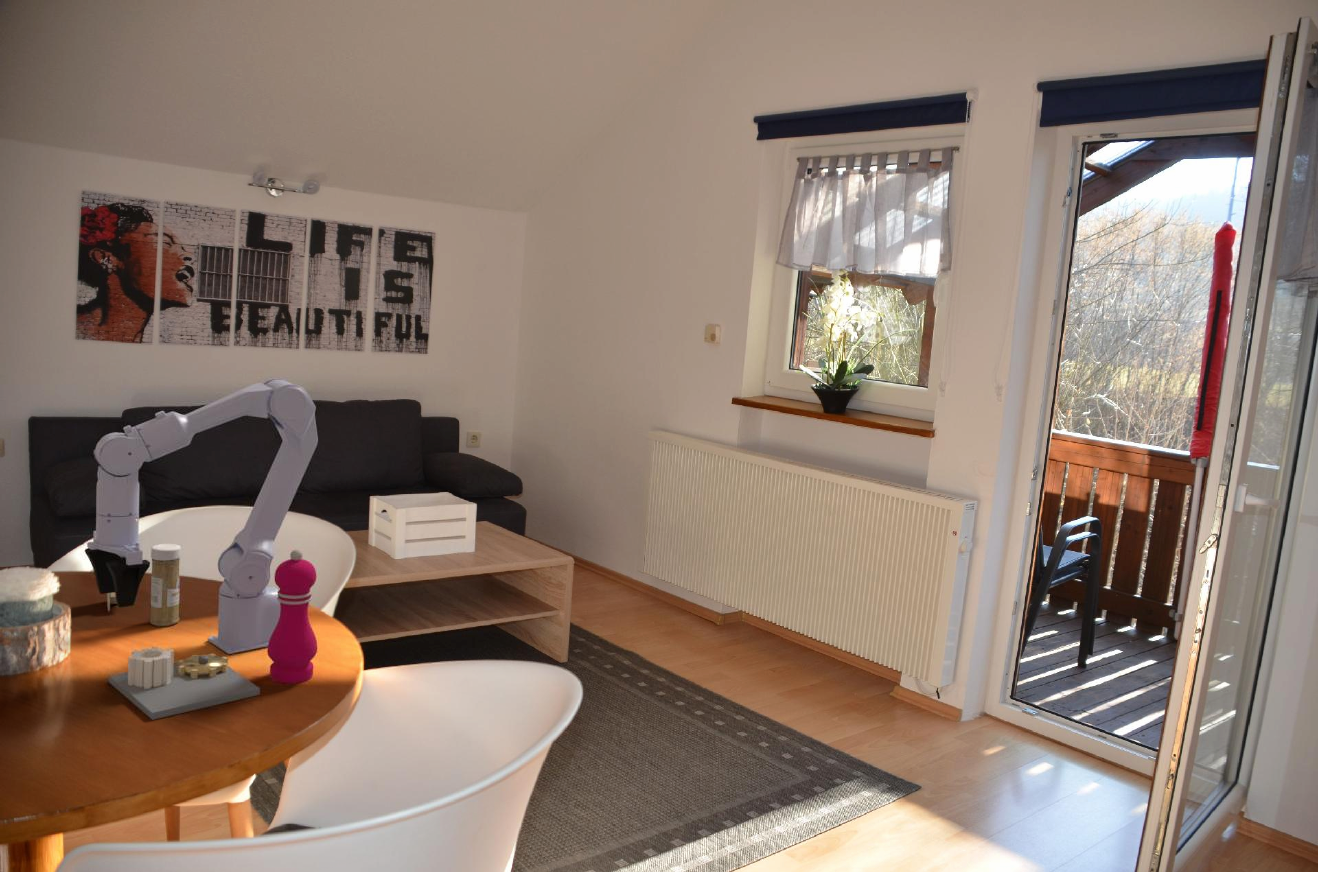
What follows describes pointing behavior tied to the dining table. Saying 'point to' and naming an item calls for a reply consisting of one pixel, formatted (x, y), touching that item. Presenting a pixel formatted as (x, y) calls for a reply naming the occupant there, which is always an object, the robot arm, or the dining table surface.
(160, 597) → the sprinkles bottle
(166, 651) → the gear
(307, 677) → the pepper mill
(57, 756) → the dining table surface
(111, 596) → the architectural model
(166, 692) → the gear board
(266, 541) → the robot arm
